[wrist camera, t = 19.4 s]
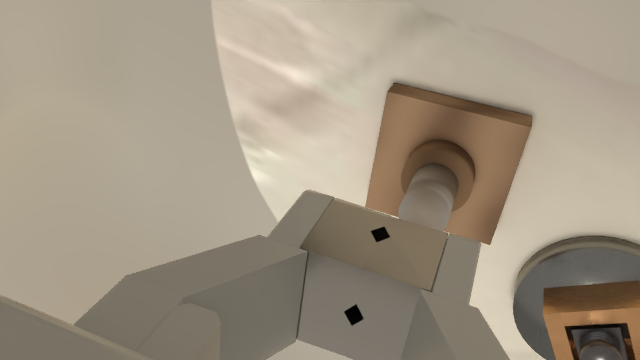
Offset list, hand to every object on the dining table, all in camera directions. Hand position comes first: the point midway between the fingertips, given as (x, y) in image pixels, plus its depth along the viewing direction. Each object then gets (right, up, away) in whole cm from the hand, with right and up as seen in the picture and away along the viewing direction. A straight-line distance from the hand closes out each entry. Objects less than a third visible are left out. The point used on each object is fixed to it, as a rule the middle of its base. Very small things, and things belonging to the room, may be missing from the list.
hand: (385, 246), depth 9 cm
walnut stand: (+8, +3, +33) cm, 34 cm away
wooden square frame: (+20, -9, +32) cm, 39 cm away
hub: (+20, -8, +34) cm, 41 cm away
